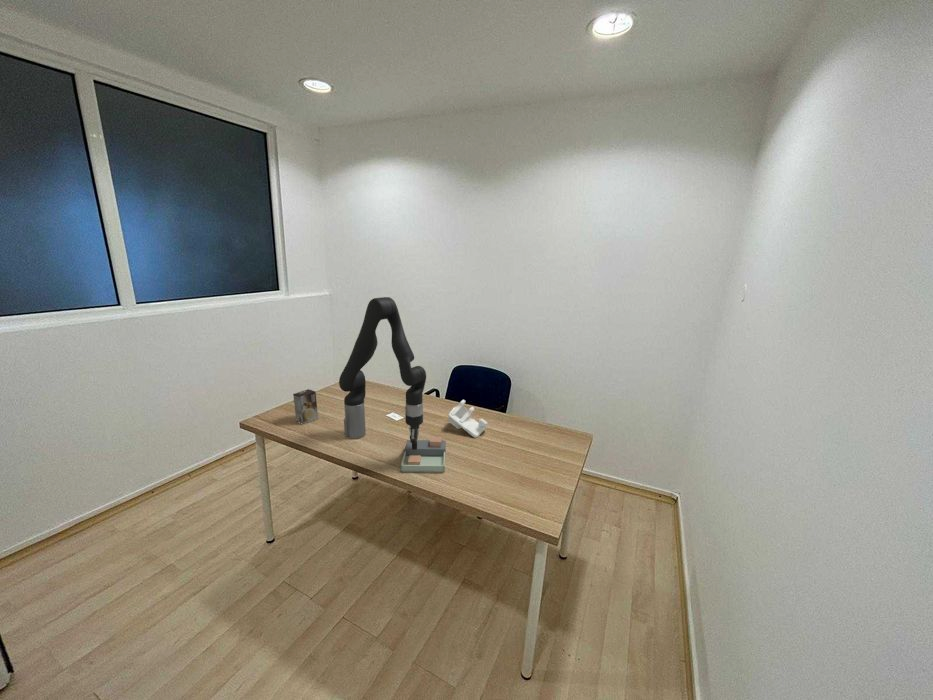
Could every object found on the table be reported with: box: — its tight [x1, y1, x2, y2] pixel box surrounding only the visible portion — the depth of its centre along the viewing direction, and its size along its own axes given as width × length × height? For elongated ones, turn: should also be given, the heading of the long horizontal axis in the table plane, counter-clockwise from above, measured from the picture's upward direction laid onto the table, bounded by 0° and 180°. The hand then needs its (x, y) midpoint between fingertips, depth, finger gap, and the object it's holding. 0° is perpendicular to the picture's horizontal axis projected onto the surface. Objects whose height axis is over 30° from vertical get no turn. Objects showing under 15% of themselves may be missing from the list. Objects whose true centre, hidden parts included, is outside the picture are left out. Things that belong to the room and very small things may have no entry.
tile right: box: [429, 435, 443, 447], centre depth 160 cm, size 5×5×2 cm
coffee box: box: [292, 388, 319, 425], centre depth 187 cm, size 9×6×16 cm
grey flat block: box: [404, 439, 447, 457], centre depth 161 cm, size 18×8×4 cm, turn 92°
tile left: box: [408, 455, 421, 465], centre depth 151 cm, size 5×5×2 cm
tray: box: [400, 450, 446, 474], centre depth 151 cm, size 18×11×3 cm, turn 92°
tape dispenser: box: [447, 399, 489, 439], centre depth 182 cm, size 20×11×13 cm, turn 64°
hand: (414, 448), depth 154 cm, fingers closed
